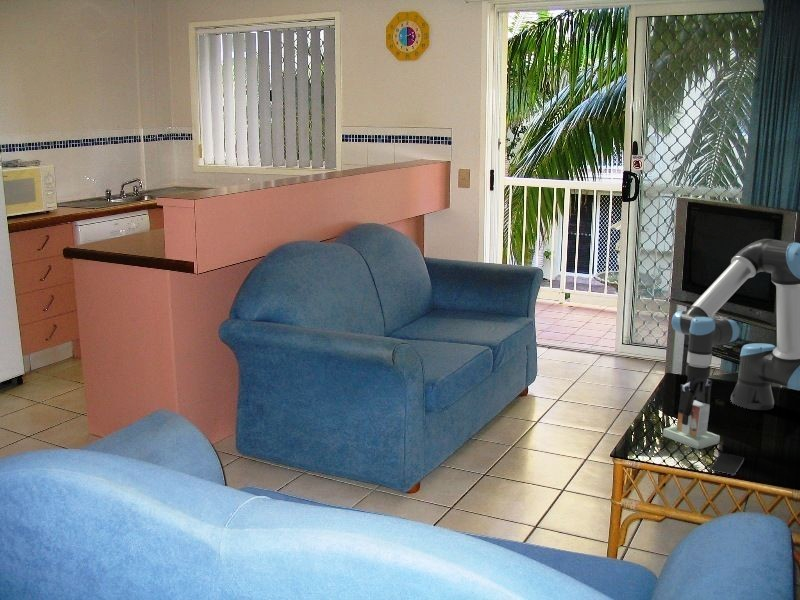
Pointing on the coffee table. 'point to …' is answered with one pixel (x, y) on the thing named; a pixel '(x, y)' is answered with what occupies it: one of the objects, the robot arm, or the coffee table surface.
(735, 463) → the smartphone
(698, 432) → the small box
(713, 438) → the tray
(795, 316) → the robot arm
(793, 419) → the coffee table surface
